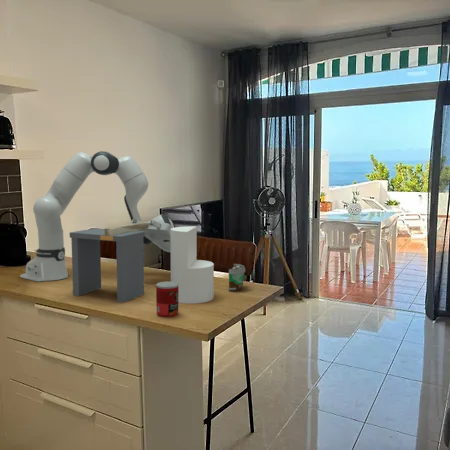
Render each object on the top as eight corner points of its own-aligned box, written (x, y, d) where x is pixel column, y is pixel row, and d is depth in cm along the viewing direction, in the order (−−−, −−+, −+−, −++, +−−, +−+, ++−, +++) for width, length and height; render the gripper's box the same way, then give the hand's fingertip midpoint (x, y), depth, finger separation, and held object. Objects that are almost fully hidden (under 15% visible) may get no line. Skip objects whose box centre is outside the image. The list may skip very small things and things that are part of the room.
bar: (104, 235, 174) (104, 228, 174) (142, 227, 198) (142, 222, 198) (111, 235, 173) (110, 229, 173) (148, 228, 197) (148, 222, 196)
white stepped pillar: (165, 302, 176) (165, 231, 172) (176, 290, 193) (176, 225, 189) (209, 304, 173) (210, 232, 170) (216, 292, 190) (217, 226, 187)
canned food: (172, 318, 156) (172, 287, 155) (152, 315, 159) (151, 285, 158) (182, 312, 163) (182, 282, 162) (163, 309, 166) (162, 280, 165)
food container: (242, 293, 190) (243, 270, 189) (228, 292, 191) (228, 269, 190) (247, 286, 202) (247, 264, 201) (233, 285, 203) (233, 263, 202)
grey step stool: (70, 295, 183) (68, 232, 180) (97, 286, 198) (95, 228, 195) (121, 303, 173) (120, 236, 170) (145, 293, 188) (144, 231, 185)
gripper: (140, 226, 212) (124, 213, 200) (178, 228, 204) (164, 215, 192) (136, 238, 210) (120, 226, 198) (175, 241, 201) (160, 229, 190)
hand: (142, 221), depth 195 cm, fingers open, 8 cm apart
